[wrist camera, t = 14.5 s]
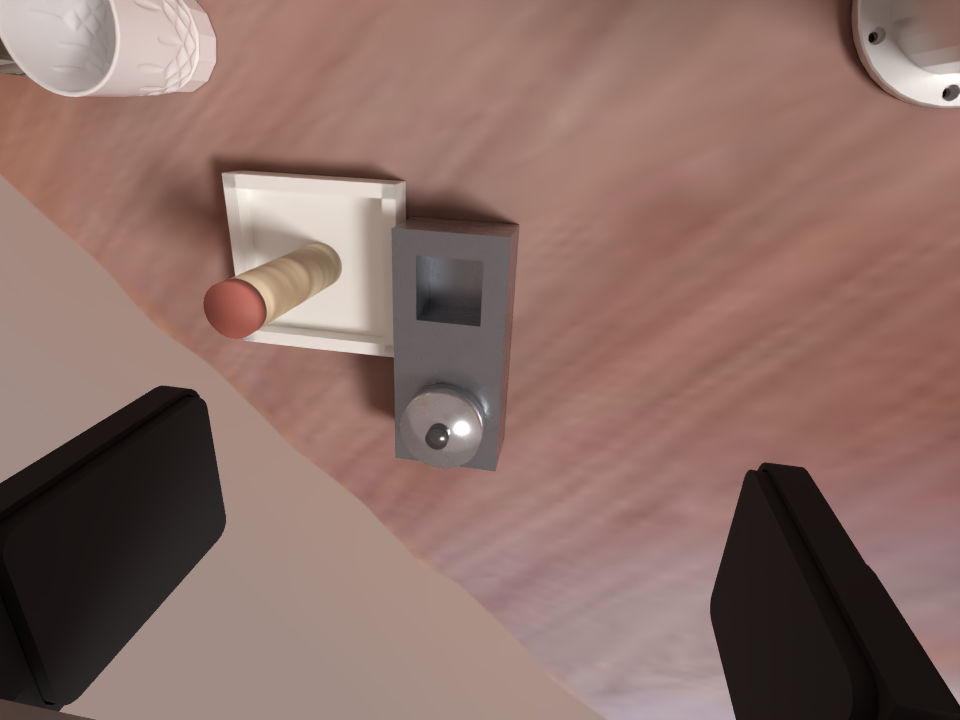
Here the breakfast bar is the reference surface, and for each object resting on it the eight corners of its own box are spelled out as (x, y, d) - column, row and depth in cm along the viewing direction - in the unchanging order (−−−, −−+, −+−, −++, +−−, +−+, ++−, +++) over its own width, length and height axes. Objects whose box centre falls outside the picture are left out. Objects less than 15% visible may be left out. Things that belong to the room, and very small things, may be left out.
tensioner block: (412, 216, 42) (375, 236, 34) (519, 224, 41) (504, 246, 33) (413, 426, 49) (383, 479, 42) (504, 438, 48) (489, 494, 41)
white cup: (179, -50, 38) (50, -105, 28) (246, 66, 40) (146, 50, 31) (102, 16, 40) (-39, -15, 31) (169, 122, 42) (55, 122, 33)
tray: (240, 170, 43) (221, 172, 40) (405, 181, 41) (395, 184, 39) (260, 330, 48) (243, 340, 46) (407, 346, 46) (397, 357, 44)
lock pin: (298, 241, 43) (199, 280, 32) (340, 244, 42) (253, 285, 32) (302, 284, 44) (208, 335, 33) (343, 287, 44) (261, 341, 33)
